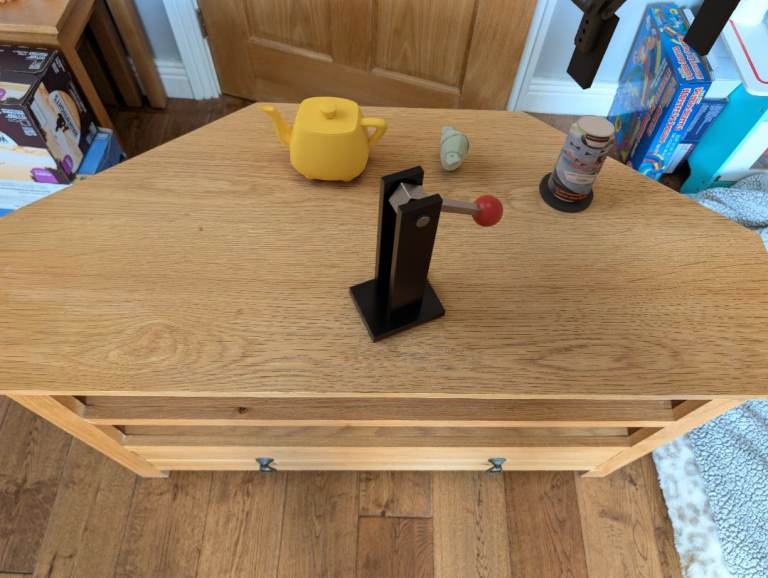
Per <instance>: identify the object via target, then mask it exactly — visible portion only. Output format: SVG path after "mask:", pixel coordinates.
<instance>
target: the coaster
mask: <svg viewBox="0 0 768 578" xmlns="http://www.w3.org/2000/svg"><path fill="white" fill-rule="evenodd" d="M551 174H552V171H551V172H548V173H547V174H545V175H544V176H543V177H542V179H541V180H540V183H539V189H538V190H539V195H540V196H541V198H542V200H543V201H544V202H545V203H546V204H547V205H548V206H549V207H551V208H552V209H555V210H557V211H559V212H563V213H567V214H568V213H569V214H570V213H572V214H573V213H579V212H582V211H584V210H586V209H588V207H590V206H591V204H592V202H593V201H594V190H593V187H592V188H591V190H590V192H589V194H588V196H587V197H586V198H585V199H583V200H581V201H573V202H570V201H565V200H562V199H560V198H558V197H557V196H555V195H554V194H553V192H552V191H551V190H550V189H549V186H548V181H549V179H550V176H551Z"/></svg>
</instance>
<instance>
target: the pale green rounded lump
mask: <svg viewBox="0 0 768 578" xmlns="http://www.w3.org/2000/svg"><path fill="white" fill-rule="evenodd" d="M439 143H440V144H439V148H440V149H439V150H440V151H439V152H440V153H439V156H440V162H441V165H442V167H443V169H444V170H445V171H454V170H456V169H457V168H458V167H460V166H461V164H462V163H463V162H464V160H465V159H466V157H467V155H468V153H469V149H470V142H469V139H468V137H467V135H466V134H465V133H464V132H463V131H458V130H456V129H455V127H454V126H450V125H449V126H448V125H446V126H445V125H444V126H442V129H441V139H440V142H439Z"/></svg>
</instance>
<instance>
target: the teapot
mask: <svg viewBox="0 0 768 578" xmlns="http://www.w3.org/2000/svg"><path fill="white" fill-rule="evenodd" d="M257 108H258V109H259V110H261V111H262V112H265V113H266V114H267V115H268V117H270V119H271V121H272V124H273V127H274V132H275V134H276V137H277V139H278V140H279V142H280V143H282V145H283V146H285V147H286V148H288V149H289V156H290V158H289V159H290V163H291V166H292V167H293V169H294V170H296V171H297V172H298V173H299V174H300V175H302V176H304V177H305V178H306V179H308V180H322V181H343V182H351V181H353V179H355V178H356V177H358V176H360V175H361V174H362V172H363V171H364V170H365V168H366V166H367V163H368V159H369V155H370V148H372V146H374V145H375V144H376V143H377V142H378V141H380V140H381V139H382V138H383V137H384V136H385V134H386V133H387V131H388V127H389V125H388V122H387V121H386V120H385V119H383V118H381V117H380V118H379V117H365V116H364V113H363V112H362V109H361V107H360V105H359V104H358V103H357V102H356V101H353V100H351V99H348V98H343V97H335V96H315V97H309V98H308V97H307V98H306V99H303V100H302V101H301V103H300V104H299V106H298V110H297V113H296V116H295V119H294V121H293V125H292V126H291V125H288V124H287V123H286V122H285V121H284V120H283V118H282V115H281V113H280V112H279V110H278V109H277V108H275V107H273V106H272V105H270V104H265V103H259V104H258V105H257ZM369 127H370V128H375V130H374V132H373V134H372V135H371V136H370V137H369V130H368V128H369Z"/></svg>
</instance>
